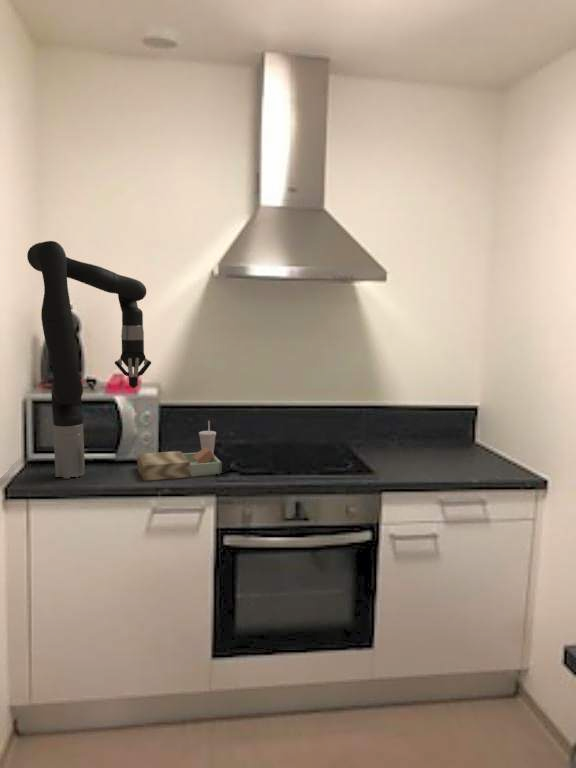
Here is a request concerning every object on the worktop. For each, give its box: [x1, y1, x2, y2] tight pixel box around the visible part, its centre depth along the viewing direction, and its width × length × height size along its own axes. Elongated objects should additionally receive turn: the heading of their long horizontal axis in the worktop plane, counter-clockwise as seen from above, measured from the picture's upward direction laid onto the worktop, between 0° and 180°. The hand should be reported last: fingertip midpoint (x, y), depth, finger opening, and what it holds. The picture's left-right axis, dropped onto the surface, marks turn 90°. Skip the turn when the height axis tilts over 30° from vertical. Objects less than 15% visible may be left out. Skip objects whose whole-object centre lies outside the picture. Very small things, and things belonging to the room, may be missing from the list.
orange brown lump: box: [193, 447, 216, 464], centre depth 224 cm, size 6×6×3 cm
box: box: [182, 451, 223, 478], centre depth 222 cm, size 10×16×4 cm, turn 20°
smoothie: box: [198, 420, 217, 454], centre depth 236 cm, size 6×6×14 cm
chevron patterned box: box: [136, 450, 191, 482], centre depth 217 cm, size 15×16×5 cm
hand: (133, 387), depth 228 cm, fingers closed
